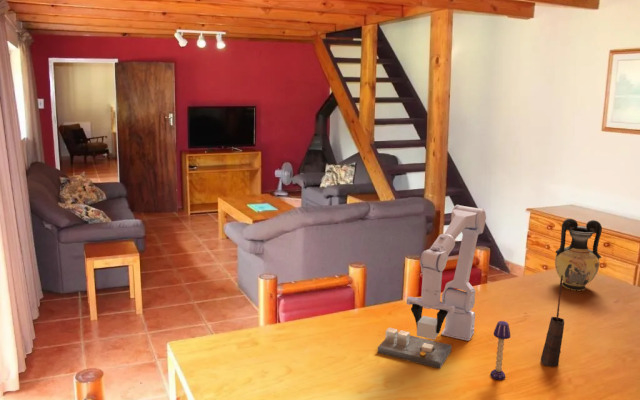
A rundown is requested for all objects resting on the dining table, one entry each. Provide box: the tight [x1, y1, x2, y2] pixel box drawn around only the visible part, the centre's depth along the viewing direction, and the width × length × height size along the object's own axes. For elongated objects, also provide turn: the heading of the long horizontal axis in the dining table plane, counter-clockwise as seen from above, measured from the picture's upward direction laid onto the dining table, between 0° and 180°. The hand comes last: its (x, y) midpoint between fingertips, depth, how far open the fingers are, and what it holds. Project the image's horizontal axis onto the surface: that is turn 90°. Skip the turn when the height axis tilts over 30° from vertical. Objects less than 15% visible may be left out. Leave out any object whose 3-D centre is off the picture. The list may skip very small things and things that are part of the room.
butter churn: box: [540, 275, 565, 368], centre depth 166 cm, size 9×10×28 cm
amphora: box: [554, 218, 603, 292], centre depth 232 cm, size 18×17×30 cm
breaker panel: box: [377, 327, 453, 370], centre depth 174 cm, size 20×13×6 cm, turn 62°
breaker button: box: [421, 343, 434, 353], centre depth 173 cm, size 3×3×3 cm
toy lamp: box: [489, 320, 511, 381], centre depth 160 cm, size 5×5×17 cm
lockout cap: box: [416, 315, 441, 341], centre depth 171 cm, size 6×6×4 cm
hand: (428, 329), depth 171 cm, fingers closed on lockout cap, 6 cm apart
